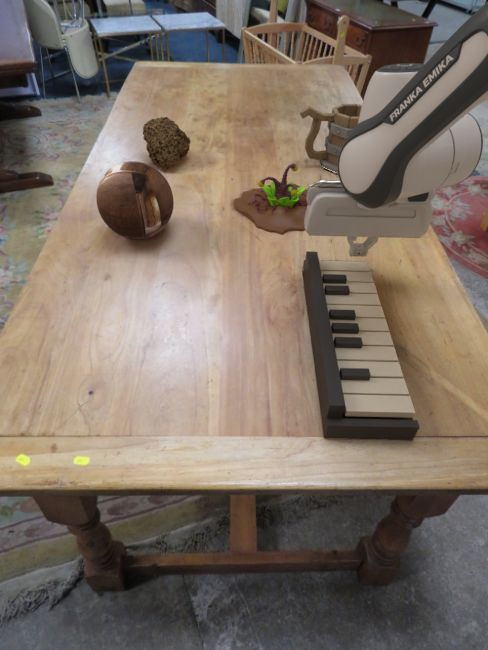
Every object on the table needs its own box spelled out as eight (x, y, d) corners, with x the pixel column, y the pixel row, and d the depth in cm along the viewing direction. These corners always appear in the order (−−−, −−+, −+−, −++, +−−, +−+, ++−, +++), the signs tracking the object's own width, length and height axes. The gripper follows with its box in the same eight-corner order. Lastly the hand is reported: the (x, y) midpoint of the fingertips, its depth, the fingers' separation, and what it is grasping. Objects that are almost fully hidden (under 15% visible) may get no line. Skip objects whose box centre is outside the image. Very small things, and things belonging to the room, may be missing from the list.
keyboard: (364, 274, 84) (371, 248, 80) (412, 440, 58) (426, 415, 54) (302, 273, 84) (305, 247, 80) (323, 438, 58) (330, 413, 54)
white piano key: (407, 400, 59) (410, 395, 58) (412, 417, 57) (415, 412, 57) (341, 399, 59) (343, 394, 58) (344, 416, 57) (346, 411, 57)
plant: (344, 222, 97) (354, 174, 89) (272, 248, 90) (276, 198, 82) (290, 185, 109) (295, 140, 101) (223, 205, 101) (222, 158, 94)
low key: (366, 266, 81) (367, 261, 80) (369, 275, 79) (370, 270, 78) (318, 265, 81) (318, 260, 80) (319, 274, 79) (320, 269, 78)
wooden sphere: (104, 219, 96) (88, 152, 86) (171, 211, 99) (164, 145, 89) (106, 258, 86) (88, 187, 76) (181, 248, 89) (174, 179, 78)
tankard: (361, 155, 122) (374, 97, 112) (372, 175, 114) (387, 115, 103) (291, 154, 122) (297, 96, 111) (296, 175, 113) (303, 114, 102)
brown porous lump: (156, 177, 113) (124, 128, 112) (188, 172, 123) (159, 127, 123) (181, 147, 105) (147, 95, 105) (212, 145, 116) (181, 97, 115)
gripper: (310, 189, 65) (300, 264, 75) (446, 192, 65) (418, 266, 75) (306, 170, 69) (297, 243, 79) (434, 173, 70) (409, 245, 79)
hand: (357, 254), depth 77 cm, fingers closed
